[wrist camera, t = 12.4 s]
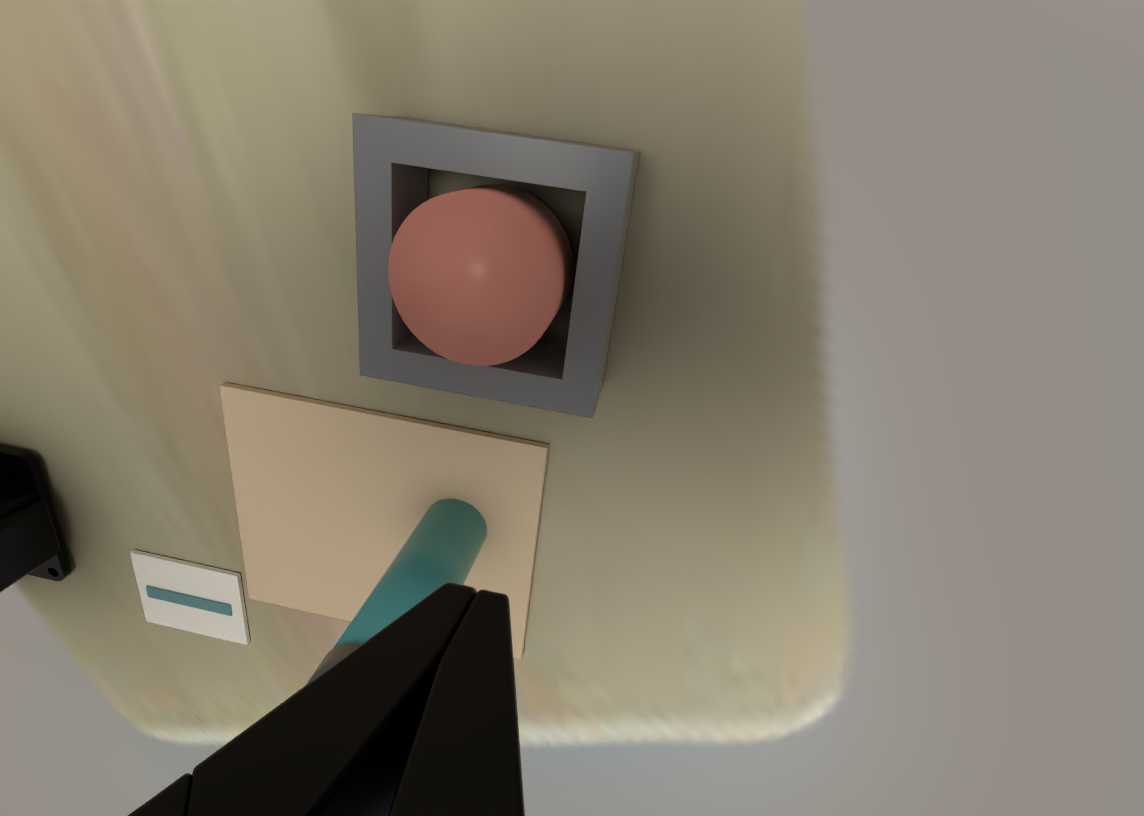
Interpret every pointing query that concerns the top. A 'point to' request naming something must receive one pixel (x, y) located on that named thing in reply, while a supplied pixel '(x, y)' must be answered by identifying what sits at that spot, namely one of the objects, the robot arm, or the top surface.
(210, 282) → the top surface
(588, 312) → the button housing
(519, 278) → the button
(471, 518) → the marker
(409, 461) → the beige rectangular board
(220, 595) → the card
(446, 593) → the robot arm
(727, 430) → the top surface
